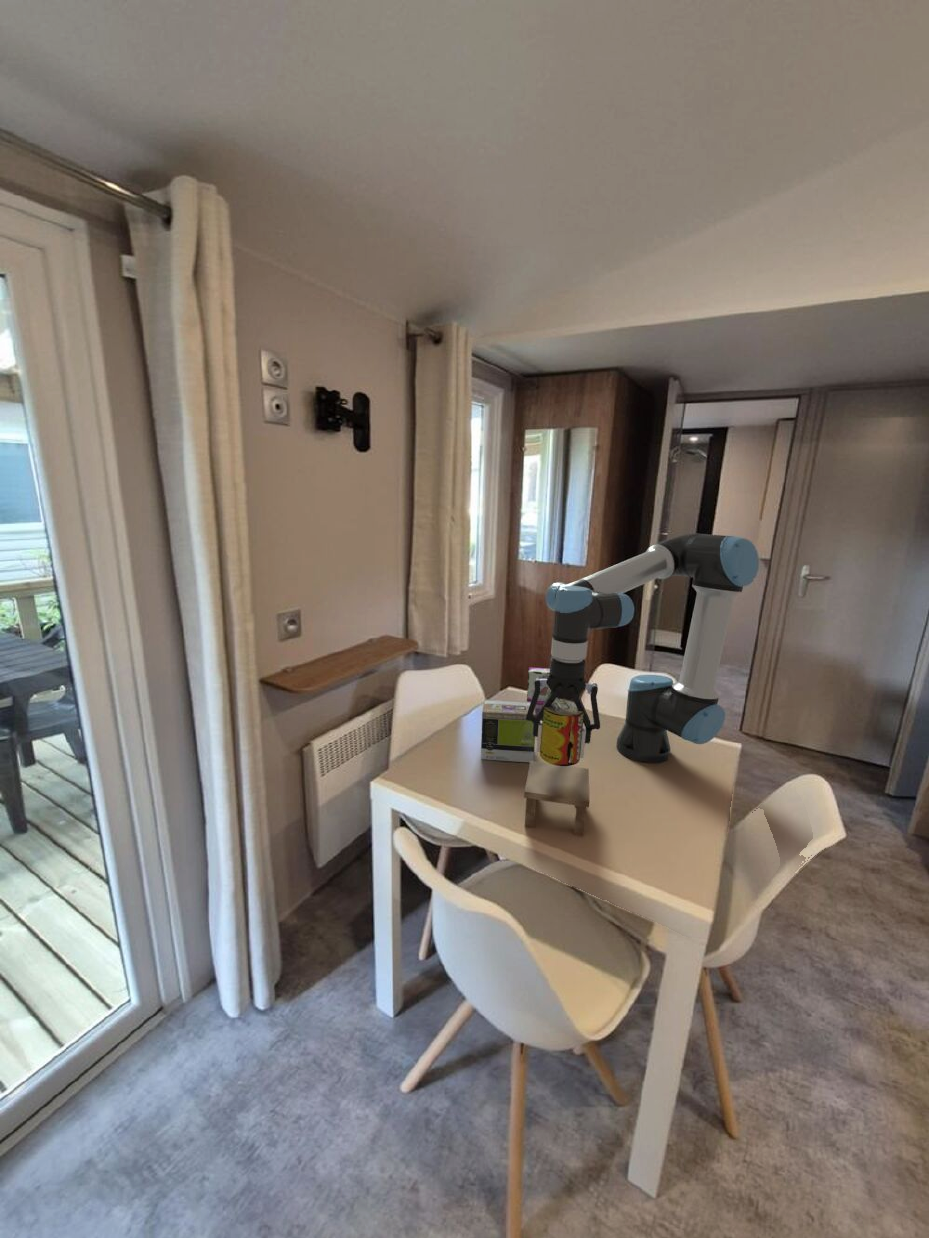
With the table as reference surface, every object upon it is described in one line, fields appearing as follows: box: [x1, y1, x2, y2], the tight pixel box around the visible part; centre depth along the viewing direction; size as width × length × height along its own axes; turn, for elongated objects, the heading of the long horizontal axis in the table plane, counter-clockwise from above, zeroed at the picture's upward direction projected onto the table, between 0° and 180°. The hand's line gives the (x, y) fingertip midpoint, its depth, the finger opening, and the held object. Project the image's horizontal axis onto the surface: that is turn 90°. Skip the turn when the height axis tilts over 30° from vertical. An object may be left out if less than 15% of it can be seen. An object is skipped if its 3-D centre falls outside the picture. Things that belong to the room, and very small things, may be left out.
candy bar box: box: [526, 667, 558, 714], centre depth 172 cm, size 11×5×16 cm, turn 80°
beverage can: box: [539, 699, 584, 767], centre depth 115 cm, size 9×9×12 cm
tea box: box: [480, 699, 536, 764], centre depth 146 cm, size 15×10×15 cm
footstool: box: [523, 761, 590, 837], centre depth 119 cm, size 14×14×9 cm
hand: (559, 752), depth 116 cm, fingers closed on beverage can, 9 cm apart
